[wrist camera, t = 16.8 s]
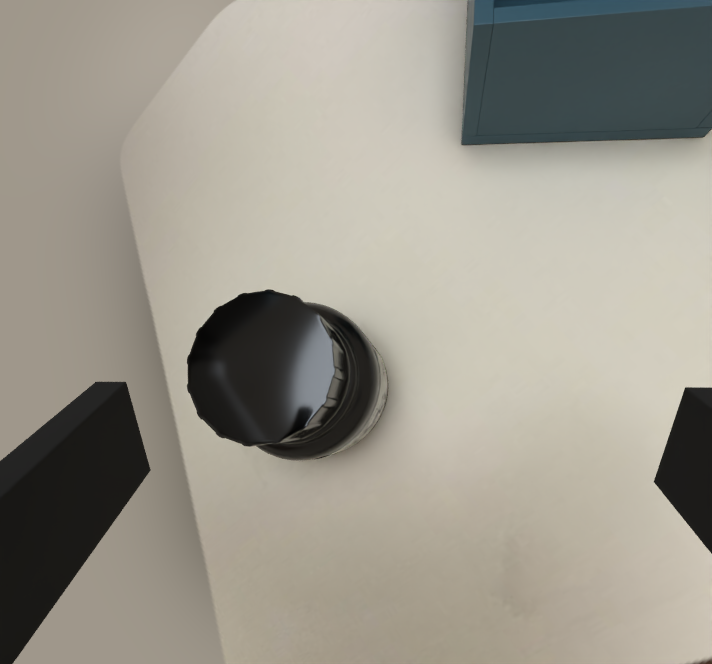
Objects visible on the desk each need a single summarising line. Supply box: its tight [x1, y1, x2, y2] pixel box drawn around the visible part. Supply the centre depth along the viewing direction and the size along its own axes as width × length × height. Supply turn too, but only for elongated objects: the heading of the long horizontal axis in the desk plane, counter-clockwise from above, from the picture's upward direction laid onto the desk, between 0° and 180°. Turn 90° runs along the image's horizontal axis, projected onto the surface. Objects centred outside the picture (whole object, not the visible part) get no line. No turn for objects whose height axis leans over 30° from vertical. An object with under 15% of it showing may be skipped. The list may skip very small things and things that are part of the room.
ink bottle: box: [187, 290, 388, 461], centre depth 24 cm, size 10×9×12 cm
